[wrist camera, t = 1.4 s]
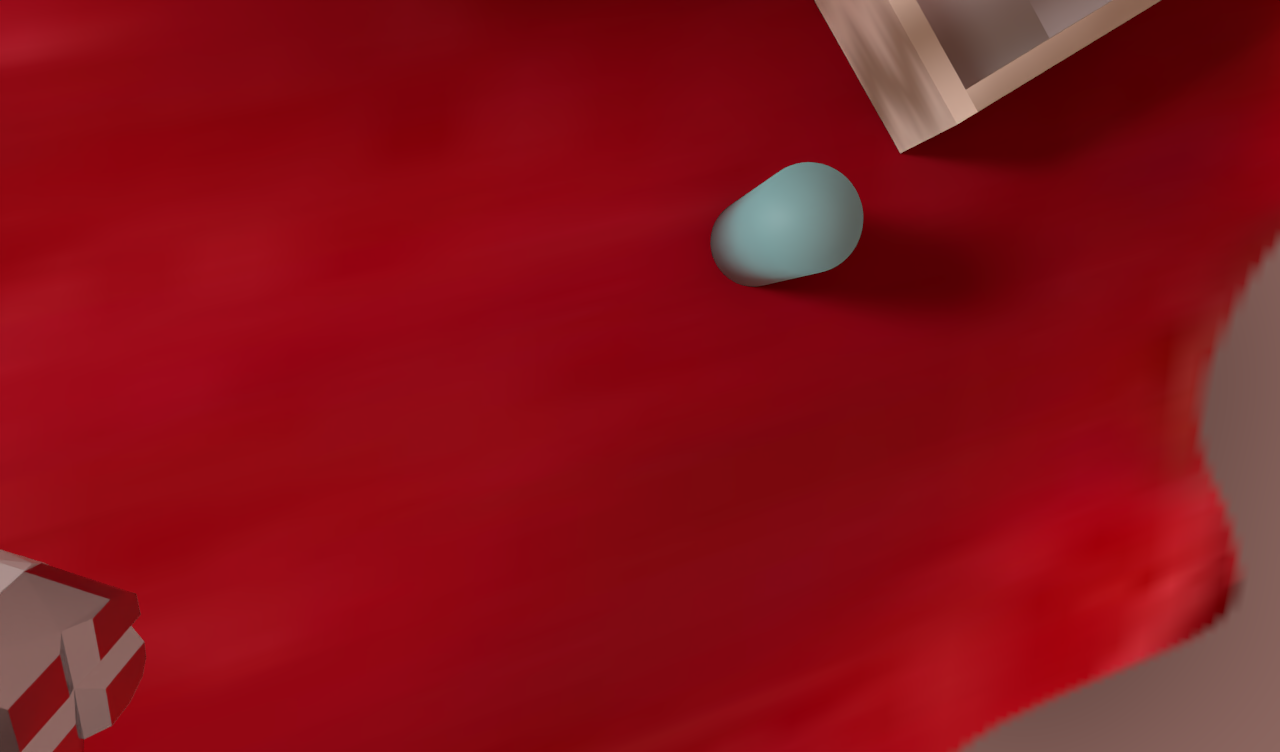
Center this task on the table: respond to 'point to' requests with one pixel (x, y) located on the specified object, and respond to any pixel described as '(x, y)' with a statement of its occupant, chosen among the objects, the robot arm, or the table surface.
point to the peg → (788, 226)
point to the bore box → (959, 52)
